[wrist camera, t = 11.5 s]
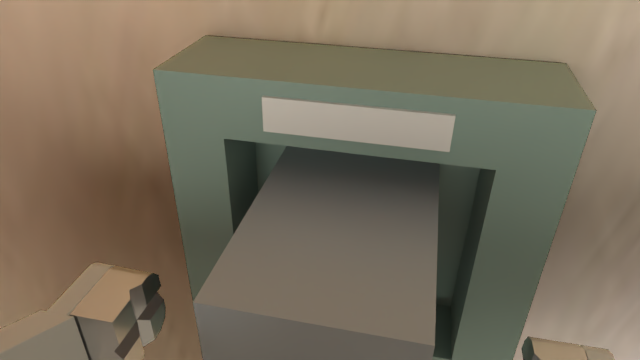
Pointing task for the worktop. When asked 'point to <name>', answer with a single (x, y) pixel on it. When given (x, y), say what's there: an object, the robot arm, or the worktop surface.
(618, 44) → the worktop surface
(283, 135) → the green square tray
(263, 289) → the block
